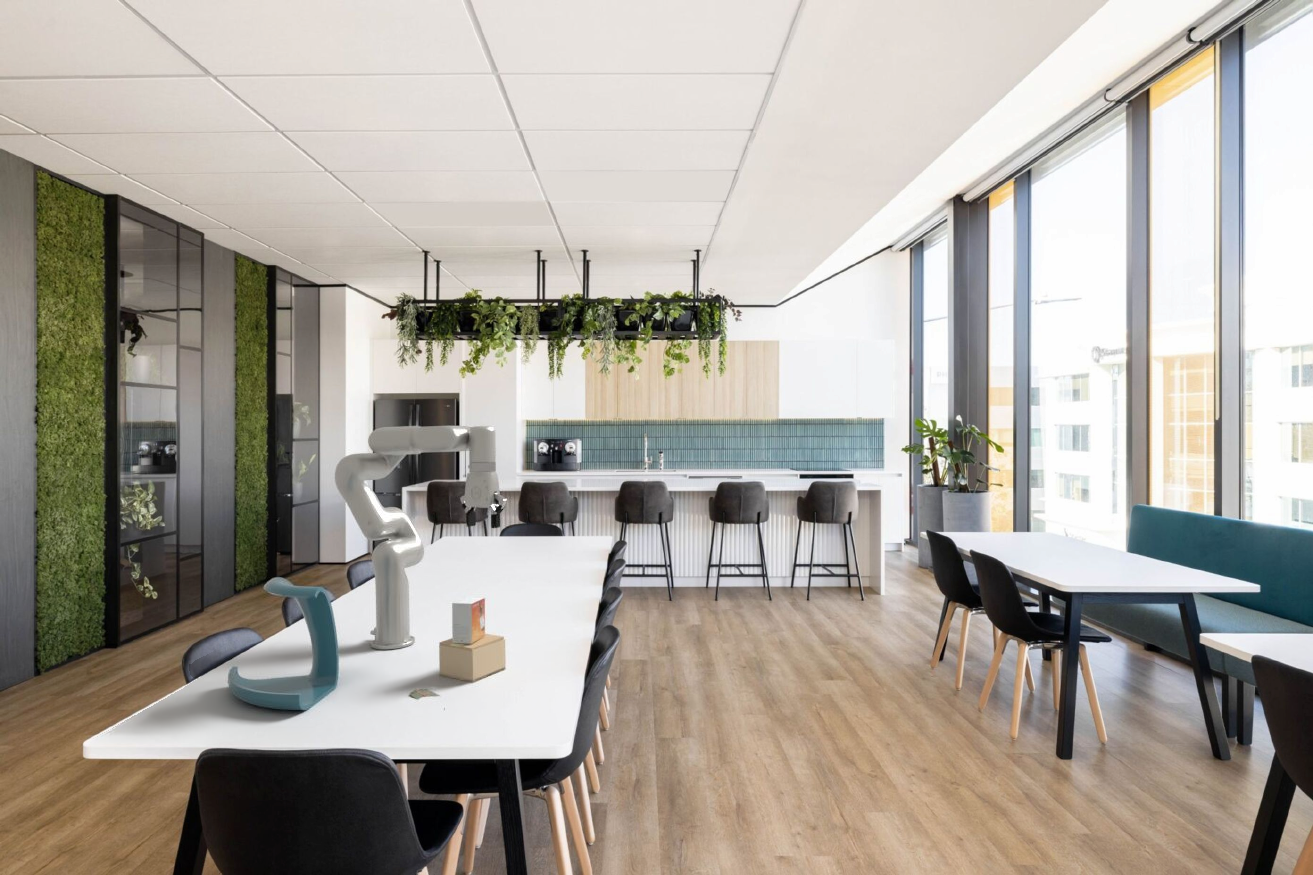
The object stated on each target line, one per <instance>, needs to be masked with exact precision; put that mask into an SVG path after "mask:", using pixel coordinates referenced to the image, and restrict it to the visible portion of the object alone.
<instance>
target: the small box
mask: <svg viewBox="0 0 1313 875" xmlns="http://www.w3.org/2000/svg"><path fill="white" fill-rule="evenodd" d="M451 605H452V607H451V609H452V610H451V611H452V612H451V613H452V614H451V615H452V616H451V617H452V621H451V622H452V623H451V624H452V628H451V631H452V638H453V643H464V644H472V643H474V642H475V641H477V640H479V639H481V638H483V637H485V634H486V598H485V597H473V596H466V597H464V598H462V599H459V600H457V601H454V602H453V603H451Z"/></svg>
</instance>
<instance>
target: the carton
mask: <svg viewBox="0 0 1313 875" xmlns="http://www.w3.org/2000/svg"><path fill="white" fill-rule="evenodd" d="M438 648H439V651H438V653H439V676H440V677H441V676H442V677H444V678H445V677H446V678H449V679H455V680H459V681H464V682H469V683H476V682H478V681H481V680H483V679H486V678H488V677H490V676H492V675H495V674H497V673H500V672H503V671H505V670H506V639H505V638H504V639H503V640H501V641H498V642H495V643H493V644H490V645H487V646H484V647H482V648H479V649H476V650H474V651H468V650H463V649H457V648H452V647H447V646H441V645H439V646H438Z"/></svg>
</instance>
